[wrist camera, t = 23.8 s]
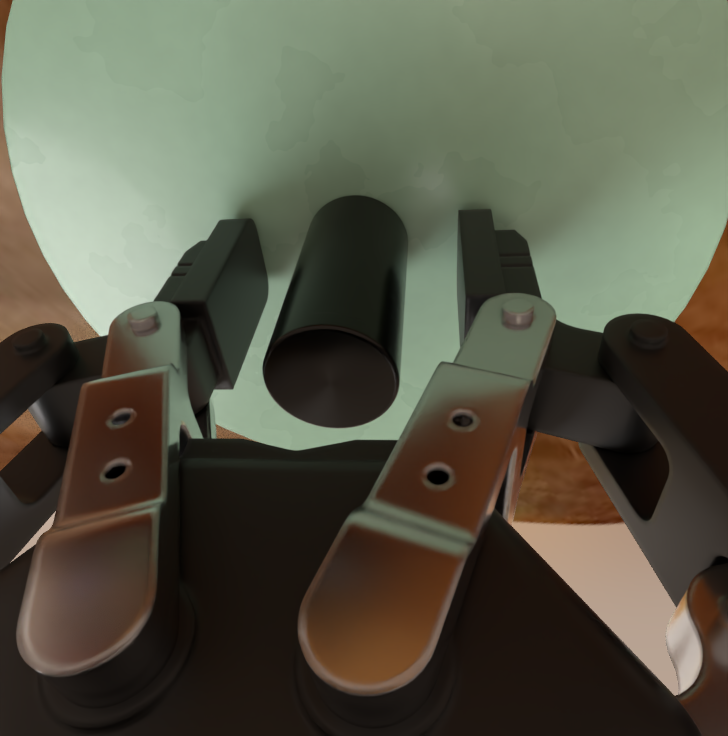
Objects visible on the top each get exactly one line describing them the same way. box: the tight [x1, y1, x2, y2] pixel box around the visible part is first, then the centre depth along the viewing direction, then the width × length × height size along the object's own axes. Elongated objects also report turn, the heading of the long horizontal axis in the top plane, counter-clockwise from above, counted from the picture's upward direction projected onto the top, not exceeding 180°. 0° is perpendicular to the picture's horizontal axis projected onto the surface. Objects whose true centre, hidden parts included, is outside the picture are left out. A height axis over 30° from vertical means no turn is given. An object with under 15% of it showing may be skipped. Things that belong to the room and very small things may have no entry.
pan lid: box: [2, 0, 728, 450], centre depth 12 cm, size 16×16×6 cm
